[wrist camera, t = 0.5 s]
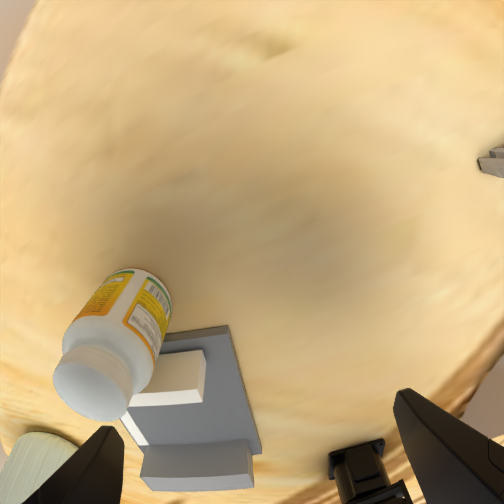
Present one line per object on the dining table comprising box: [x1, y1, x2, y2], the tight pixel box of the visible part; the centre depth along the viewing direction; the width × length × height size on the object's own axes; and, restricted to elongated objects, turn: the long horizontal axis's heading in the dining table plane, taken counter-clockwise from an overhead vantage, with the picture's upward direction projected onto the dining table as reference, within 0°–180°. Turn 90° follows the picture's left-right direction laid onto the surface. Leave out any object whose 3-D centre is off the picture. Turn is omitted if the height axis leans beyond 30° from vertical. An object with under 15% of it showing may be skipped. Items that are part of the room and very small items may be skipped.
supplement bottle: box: [53, 268, 172, 422], centre depth 17 cm, size 5×5×10 cm
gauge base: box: [120, 326, 262, 492], centre depth 23 cm, size 15×12×5 cm
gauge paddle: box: [128, 350, 206, 407], centre depth 20 cm, size 1×10×4 cm, turn 100°
